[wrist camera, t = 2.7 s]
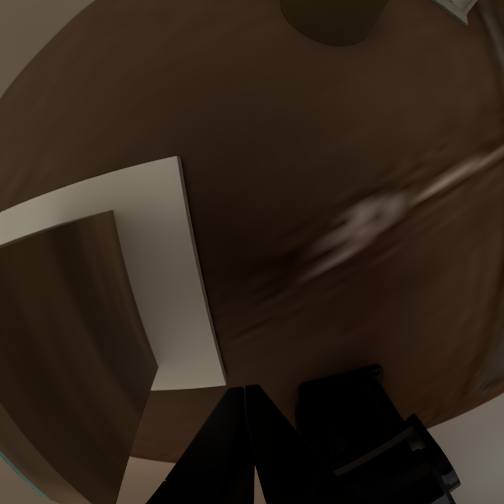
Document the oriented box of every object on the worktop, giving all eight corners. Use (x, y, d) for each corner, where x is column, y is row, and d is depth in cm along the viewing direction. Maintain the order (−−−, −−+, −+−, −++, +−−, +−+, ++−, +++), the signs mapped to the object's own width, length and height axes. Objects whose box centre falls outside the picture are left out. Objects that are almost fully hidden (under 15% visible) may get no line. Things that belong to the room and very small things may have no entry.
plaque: (112, 209, 14) (-58, 274, 3) (158, 367, 16) (112, 519, 6) (57, 224, 14) (-93, 288, 3) (106, 368, 16) (41, 496, 6)
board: (180, 157, 14) (176, 155, 13) (226, 375, 18) (225, 385, 17) (-41, 234, 14) (-48, 236, 13) (10, 373, 17) (5, 379, 16)
